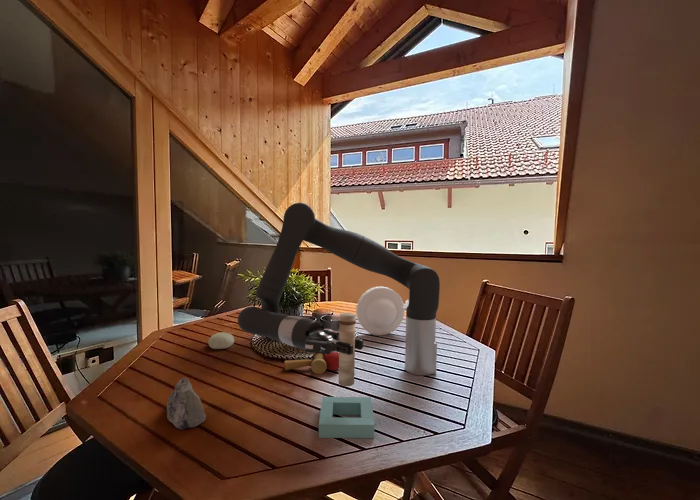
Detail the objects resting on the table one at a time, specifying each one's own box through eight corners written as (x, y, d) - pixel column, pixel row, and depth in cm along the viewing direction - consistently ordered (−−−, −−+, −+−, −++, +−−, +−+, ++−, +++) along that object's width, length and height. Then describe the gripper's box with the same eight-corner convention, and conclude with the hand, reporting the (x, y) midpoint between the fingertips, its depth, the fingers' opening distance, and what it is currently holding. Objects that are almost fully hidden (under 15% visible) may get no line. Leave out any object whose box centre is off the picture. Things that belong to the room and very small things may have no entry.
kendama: (284, 380, 108) (343, 371, 108) (281, 359, 108) (340, 350, 109) (288, 374, 115) (343, 366, 116) (285, 354, 116) (340, 346, 117)
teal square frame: (370, 408, 89) (371, 397, 89) (374, 438, 77) (374, 424, 77) (322, 408, 89) (322, 396, 89) (318, 437, 77) (318, 424, 77)
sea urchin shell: (241, 338, 136) (230, 327, 130) (230, 357, 131) (219, 347, 126) (222, 335, 139) (211, 324, 134) (212, 353, 135) (200, 343, 129)
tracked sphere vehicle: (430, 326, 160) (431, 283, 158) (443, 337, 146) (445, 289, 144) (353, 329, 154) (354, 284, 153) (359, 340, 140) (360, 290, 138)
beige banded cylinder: (351, 378, 85) (352, 312, 83) (356, 385, 81) (357, 316, 80) (336, 380, 83) (337, 313, 82) (341, 387, 80) (342, 317, 79)
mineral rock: (172, 403, 91) (171, 365, 90) (216, 401, 92) (216, 363, 91) (151, 433, 78) (150, 388, 77) (202, 430, 79) (201, 386, 79)
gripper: (280, 324, 84) (339, 339, 74) (319, 312, 95) (374, 323, 85) (280, 355, 84) (338, 374, 74) (318, 339, 96) (373, 354, 86)
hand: (357, 347), depth 80 cm, fingers closed on beige banded cylinder, 3 cm apart
